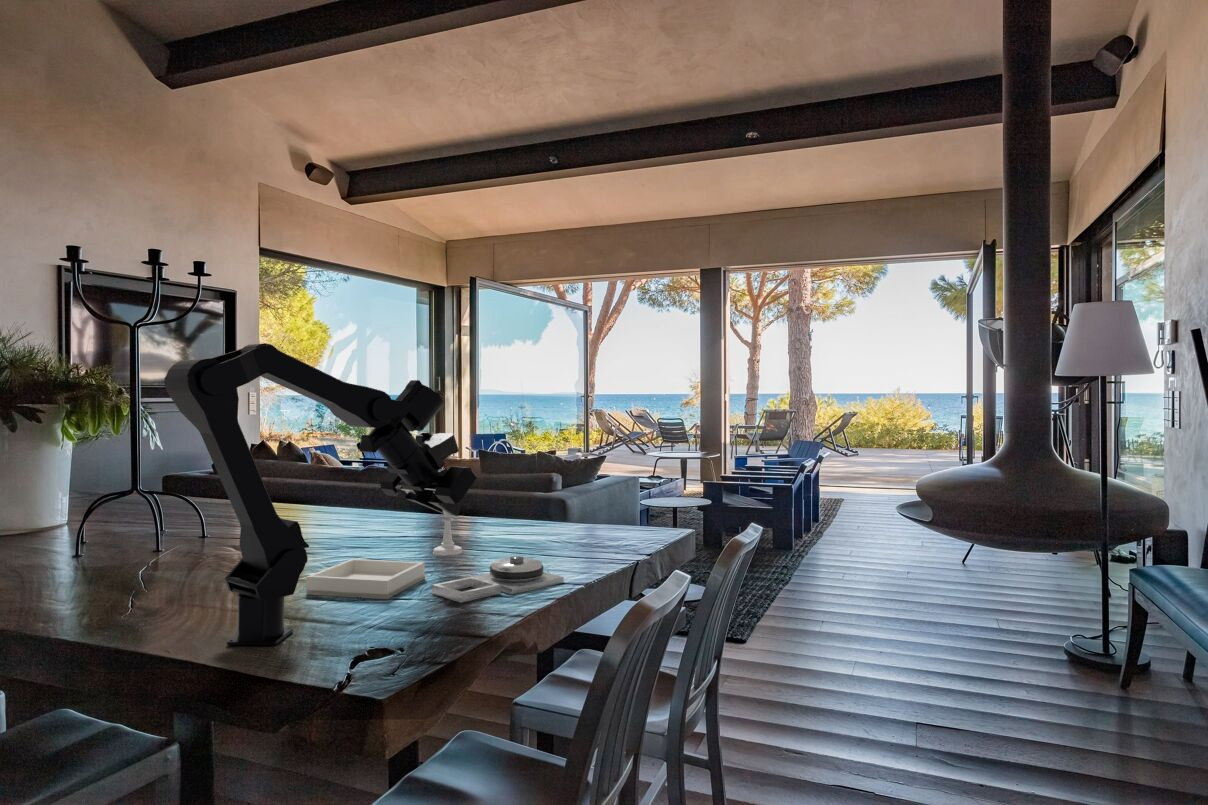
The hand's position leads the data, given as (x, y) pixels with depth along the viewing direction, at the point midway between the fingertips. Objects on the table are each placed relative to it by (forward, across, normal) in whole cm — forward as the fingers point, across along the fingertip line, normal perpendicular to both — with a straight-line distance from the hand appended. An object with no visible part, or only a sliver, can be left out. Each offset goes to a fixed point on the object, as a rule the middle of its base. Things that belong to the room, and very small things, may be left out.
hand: (453, 513), depth 128 cm
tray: (+4, +13, +15) cm, 20 cm away
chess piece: (+4, 0, +6) cm, 7 cm away
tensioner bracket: (+14, -5, +5) cm, 15 cm away
